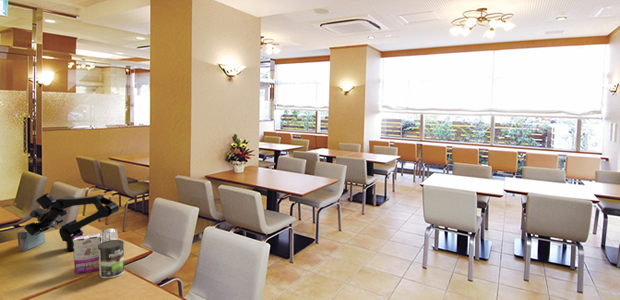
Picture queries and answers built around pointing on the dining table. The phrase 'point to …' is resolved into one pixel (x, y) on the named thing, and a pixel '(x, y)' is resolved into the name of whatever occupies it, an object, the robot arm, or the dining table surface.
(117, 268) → the coffee can
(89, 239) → the candy bar box
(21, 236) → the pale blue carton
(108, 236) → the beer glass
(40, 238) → the hinge leaf
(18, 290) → the dining table surface
